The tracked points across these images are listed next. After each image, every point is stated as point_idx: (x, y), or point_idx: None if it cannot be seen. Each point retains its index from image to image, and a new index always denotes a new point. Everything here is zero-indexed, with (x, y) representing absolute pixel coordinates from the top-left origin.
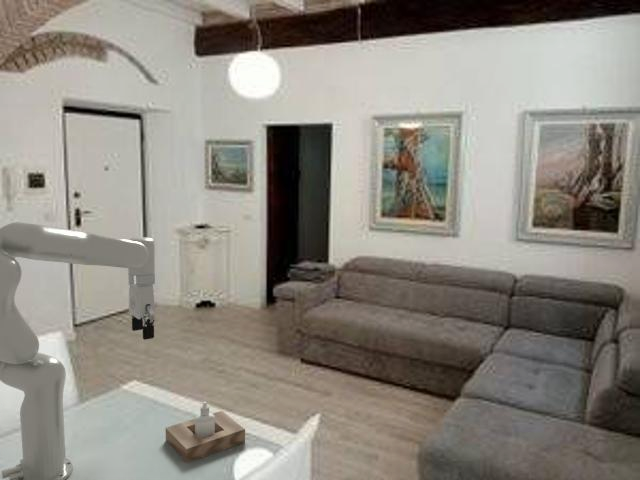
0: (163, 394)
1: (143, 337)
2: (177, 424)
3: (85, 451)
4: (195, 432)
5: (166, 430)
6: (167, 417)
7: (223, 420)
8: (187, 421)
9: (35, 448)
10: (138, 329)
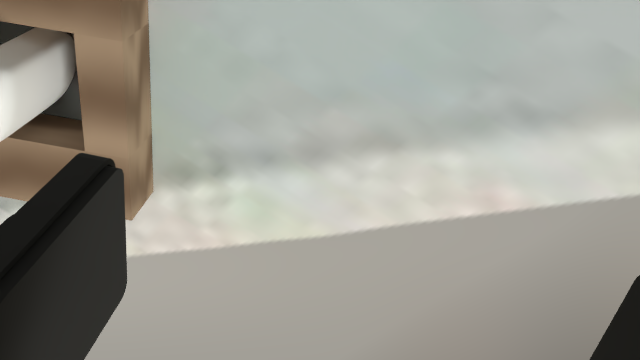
0: (571, 185)
1: (68, 167)
2: (117, 16)
3: None
4: (19, 38)
5: None
6: (344, 69)
7: (48, 175)
8: (119, 66)
9: None
10: (605, 340)
